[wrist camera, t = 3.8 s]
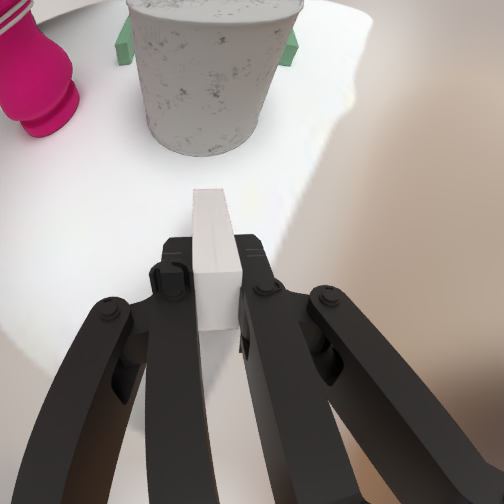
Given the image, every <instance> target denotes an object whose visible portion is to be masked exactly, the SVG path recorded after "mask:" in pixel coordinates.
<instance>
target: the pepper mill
mask: <svg viewBox="0 0 504 504" xmlns="http://www.w3.org/2000/svg"><path fill="white" fill-rule="evenodd" d="M33 4H34V1H33V0H0V105H1V108H2V109H3V111H4V112H5V114H6V115H7V116H8V117H9V118H10V119H12V120H15V121H20V122H21V125H22V126H23V127H24V129H25V130H26V131H27V132H28V133H29V134H30V135H31V136H33V137H43V136H46V135H49V134H51V133H53V132H55V131H56V130H58V129H59V128H60V127H62V126H63V125H64V124H65V123H66V122H67V121H68V120H69V119H70V118H71V117H72V115H73V113H74V112H75V110H76V108H77V106H78V103H79V93H78V90H77V88H76V86H75V84H74V82H73V81H72V80H71V77H72V72H73V67H72V63H71V61H70V59H69V57H68V55H67V53H66V52H65V51H64V50H63V49H62V48H61V47H60V46H58V45H57V44H56V43H54V42H53V41H51V40H50V39H48V38H47V37H46V36H45V35H43V34H42V32H41V31H40V30H39V29H38V28H37V26H36V24H35V22H34V20H33V18H32V14H31V10H30V9H31V8H32V6H33Z"/></svg>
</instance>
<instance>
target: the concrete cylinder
mask: <svg viewBox="0 0 504 504" xmlns="http://www.w3.org/2000/svg"><path fill="white" fill-rule="evenodd" d="M126 4H127V5H128V7H129V15H130V23H131V31H132V38H133V44H134V51H135V57H136V63H137V69H138V74H139V80H140V85H141V90H142V95H143V100H144V105H145V110H146V117H147V124H148V127H149V129H150V131H151V133H152V135H153V136H154V137H155V139H156V140H157V141H158V142H159V143H160V144H162V145H163V146H165V147H167V148H168V149H170V150H172V151H175V152H177V153H180V154H184V155H190V156H212V155H217V154H222V153H225V152H227V151H230V150H232V149H235V148H236V147H238V146H239V145H241V144H242V143H243V142H245V141H246V140H247V139H248V138H249V137H250V135H251V134H252V133H253V131H254V129H255V127H256V125H257V122H258V117H259V114H260V111H261V108H262V106H263V103H264V100H265V98H266V95H267V92H268V89H269V87H270V84H271V81H272V79H273V76H274V74H275V71H276V68H277V66H278V63H279V61H280V58H281V56H282V53H283V50H284V48H285V45H286V43H287V40H288V38H289V36H290V33H291V31H292V28H293V26H294V23H295V21H296V19H297V16H298V14H299V12H300V11H301V10H302V9H303V7H304V0H126Z"/></svg>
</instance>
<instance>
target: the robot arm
mask: <svg viewBox="0 0 504 504" xmlns="http://www.w3.org/2000/svg"><path fill="white" fill-rule="evenodd" d="M32 18H33V20H34V17H33V15H32ZM34 22H35V20H34ZM35 24H36V22H35ZM36 26H37V25H36ZM149 277H150V282H151V287H152V292H153V295H152V296H150V297H149V298H147V299H146V300H143V301H141V302H137V303H134V304H130V305H129V303H127V302H126V301H125V300H124V299H122V298H119V297H108V298H104V299H102V300H100V301H99V302H97V303H96V304H95V305H94V306H93V308H92V309H91V311H90V312H89V314H88V316H87V318H86V319H85V321H84V323H83V325H82V326H81V328H80V330H79V332H78V334H77V335H76V337H75V339H74V341H73V343H72V345H71V346H70V348H69V350H68V352H67V354H66V356H65V358H64V360H63V362H62V364H61V366H60V368H59V370H58V372H57V374H56V376H55V378H54V380H53V383H52V385H51V387H50V389H49V391H48V394H47V396H46V398H45V400H44V403H43V405H42V407H41V410H40V412H39V415H38V417H37V420H36V422H35V425H34V427H33V430H32V433H31V436H30V438H29V441H28V444H27V447H26V450H25V453H24V456H23V459H22V463H21V466H20V469H19V473H18V476H17V480H16V484H15V488H14V492H13V496H12V501H11V504H107V502H108V498H109V493H110V489H111V484H112V480H113V476H114V472H115V468H116V464H117V460H118V456H119V453H120V449H121V445H122V442H123V438H124V434H125V431H126V427H127V424H128V421H129V417H130V414H131V411H132V407H133V404H134V401H135V398H136V395H137V391H138V388H139V385H140V382H141V379H142V376H143V373H144V370H145V367H146V364H147V367H146V391H145V442H146V443H145V444H146V468H147V480H148V481H147V482H148V493H149V504H220V502H219V497H218V491H217V486H216V480H215V475H214V468H213V461H212V454H211V447H210V440H209V433H208V426H207V417H206V408H205V399H204V390H203V380H202V369H201V357H200V345H199V334H198V331H215V330H231V329H238V326H239V325H240V330H241V335H240V347H239V353H243V359H244V364H245V369H246V374H247V378H248V384H249V388H250V393H251V398H252V403H253V408H254V413H255V417H256V422H257V427H258V431H259V436H260V440H261V445H262V449H263V453H264V458H265V462H266V467H267V471H268V475H269V480H270V484H271V488H272V492H273V496H274V500H275V504H370V503H369V502H367V501H366V500H365V499H364V498H363V497H362V495H361V492H360V490H359V487H358V484H357V481H356V478H355V475H354V472H353V469H352V466H351V464H350V461H349V458H348V455H347V452H346V450H345V446H344V444H343V441H342V438H341V436H340V432H339V430H338V427H337V424H336V421H335V419H334V416H333V413H332V411H331V408H330V405H329V402H330V404H331V405H332V407H333V408H334V409H335V411H336V412H337V414H338V415H339V417H340V418H341V420H342V421H343V423H344V424H345V425H346V427H347V428H348V430H349V431H350V432H351V434H352V435H353V437H354V438H355V440H356V441H357V443H358V444H359V445H360V447H361V448H362V450H363V451H364V453H365V454H366V455H367V457H368V458H369V460H370V461H371V463H372V464H373V465H374V467H375V468H376V470H377V471H378V473H379V474H380V475H381V477H382V478H383V479H384V481H385V482H386V484H387V485H388V486H389V488H390V489H391V490H392V492H393V493H394V495H395V496H396V497H397V499H398V500H399V501H400V503H401V504H504V472H503V471H501V470H499V469H497V468H496V467H494V466H492V465H490V464H488V463H487V462H486V461H485V460H484V459H483V457H482V456H481V455H480V453H479V452H478V451H477V449H476V448H475V447H474V445H473V444H472V443H471V441H470V440H469V439H468V437H467V436H466V435H465V433H464V432H463V431H462V430H461V428H460V427H459V426H458V424H457V423H456V422H455V421H454V419H453V418H452V417H451V416H450V414H449V413H448V412H447V411H446V409H445V408H444V407H443V406H442V405H441V403H440V402H439V401H438V400H437V398H436V397H435V396H434V395H433V393H432V392H431V391H430V390H429V389H428V387H427V386H426V385H425V384H424V382H422V380H421V379H420V378H419V376H418V375H417V374H416V373H415V372H414V371H413V369H412V368H411V367H410V366H409V365H408V364H407V363H406V361H405V360H404V359H403V358H402V357H401V355H400V354H399V353H398V352H397V351H396V350H395V349H394V348H393V346H392V345H391V344H390V343H389V342H388V341H387V340H386V338H385V337H384V336H383V335H382V334H381V333H380V332H379V330H378V329H377V328H376V327H375V326H374V325H373V324H372V323H371V322H370V320H369V319H368V318H367V317H366V316H365V315H364V314H363V313H362V312H361V311H360V309H358V307H357V306H356V305H355V304H354V303H353V302H352V301H351V300H350V299H349V298H348V296H346V294H345V293H344V292H342V291H341V290H340V289H338V288H335V287H333V286H328V285H322V286H318V287H315V288H313V290H312V291H311V292H310V295H307V294H301V293H295V292H291V291H288V290H286V289H285V287H284V285H283V284H282V283H281V282H280V281H279V280H277V279H276V278H274V275H273V272H272V270H271V267H270V264H269V262H268V259H267V256H266V254H265V251H264V250H263V246H262V243H261V241H260V240H259V239H258V238H257V237H256V236H255V235H254V234H241V235H234V233H233V229H232V225H231V221H230V216H229V212H228V208H227V204H226V199H225V195H224V191H223V189H193V230H192V237H174V238H169V239H168V240H167V241H166V242H165V244H164V245H163V251H162V258H161V262H159V263H157V264H156V265H154V266H153V267H152V268H151V270H150V272H149ZM328 401H329V402H328Z"/></svg>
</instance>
